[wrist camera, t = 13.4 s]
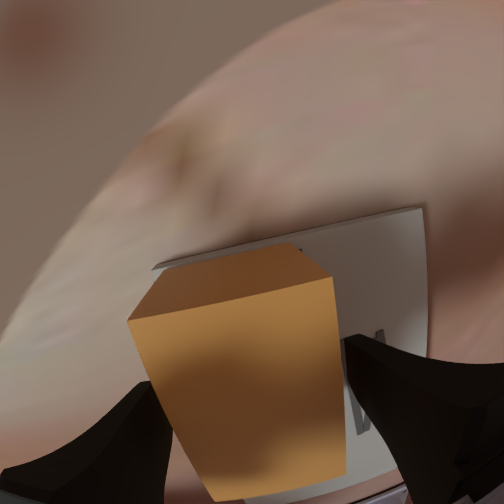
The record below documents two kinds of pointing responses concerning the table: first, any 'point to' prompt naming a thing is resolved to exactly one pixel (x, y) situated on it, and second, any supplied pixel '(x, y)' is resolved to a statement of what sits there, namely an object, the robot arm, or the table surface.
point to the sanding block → (248, 369)
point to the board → (359, 315)
